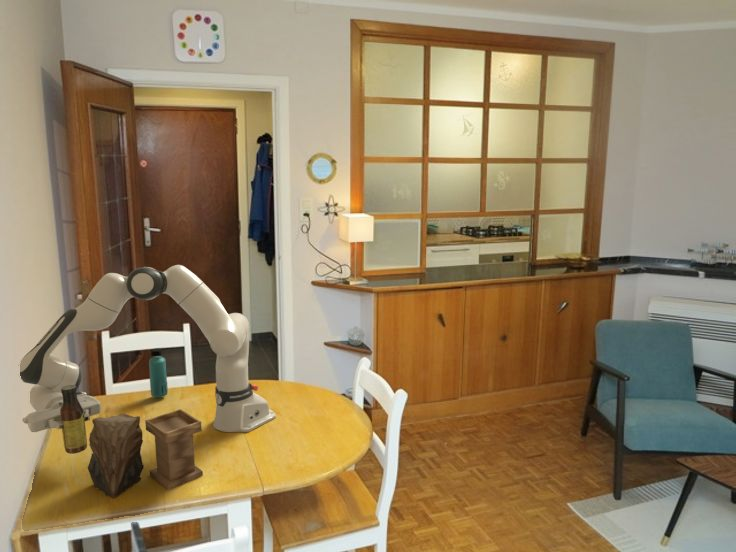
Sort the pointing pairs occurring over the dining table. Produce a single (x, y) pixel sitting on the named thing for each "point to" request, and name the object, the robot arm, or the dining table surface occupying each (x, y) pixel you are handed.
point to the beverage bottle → (158, 374)
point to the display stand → (174, 448)
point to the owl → (115, 453)
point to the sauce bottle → (72, 421)
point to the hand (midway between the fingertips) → (74, 422)
